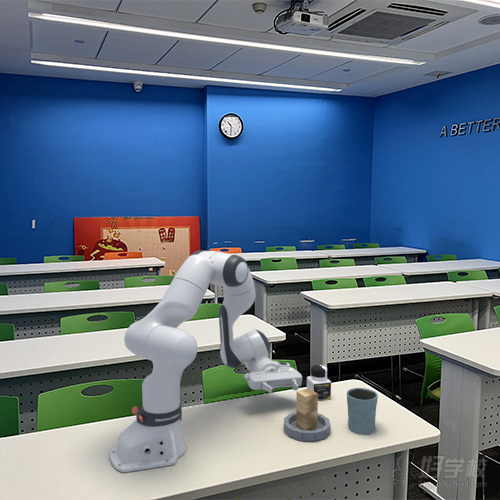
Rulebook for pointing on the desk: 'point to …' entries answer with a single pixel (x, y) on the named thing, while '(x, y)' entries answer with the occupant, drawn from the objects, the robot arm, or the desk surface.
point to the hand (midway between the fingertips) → (284, 389)
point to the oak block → (306, 409)
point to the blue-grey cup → (361, 410)
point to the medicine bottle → (319, 382)
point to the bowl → (306, 435)
